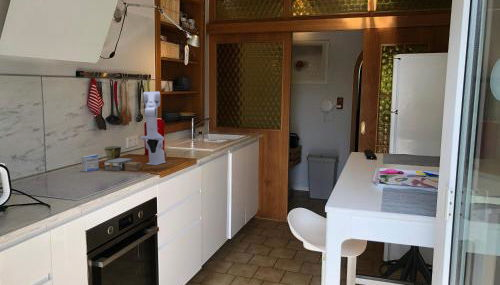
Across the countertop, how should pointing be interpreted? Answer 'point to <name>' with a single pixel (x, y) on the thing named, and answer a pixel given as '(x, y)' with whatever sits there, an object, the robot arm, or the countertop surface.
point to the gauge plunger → (121, 164)
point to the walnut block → (133, 166)
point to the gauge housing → (115, 163)
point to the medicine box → (90, 163)
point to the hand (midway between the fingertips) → (153, 152)
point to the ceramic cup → (112, 152)
